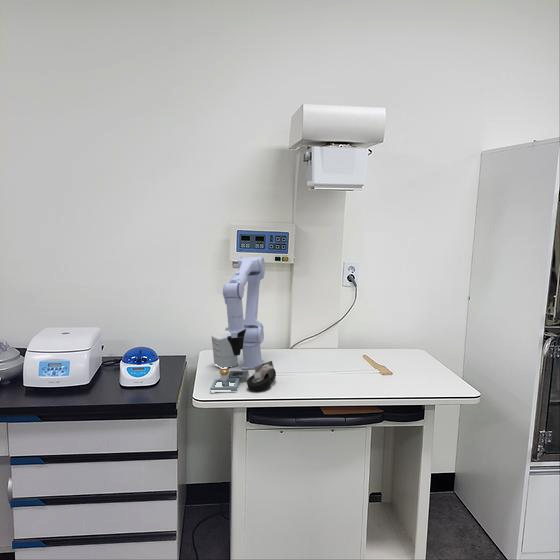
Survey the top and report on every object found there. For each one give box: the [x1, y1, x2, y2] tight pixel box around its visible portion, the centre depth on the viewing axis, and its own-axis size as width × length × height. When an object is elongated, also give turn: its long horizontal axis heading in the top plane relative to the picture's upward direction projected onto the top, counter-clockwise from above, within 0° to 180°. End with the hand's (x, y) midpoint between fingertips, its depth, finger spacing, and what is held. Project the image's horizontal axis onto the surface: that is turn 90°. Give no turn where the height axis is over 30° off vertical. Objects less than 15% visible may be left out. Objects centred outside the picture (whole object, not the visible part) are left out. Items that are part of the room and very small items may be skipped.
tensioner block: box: [228, 369, 250, 383], centre depth 184 cm, size 7×7×2 cm
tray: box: [209, 378, 241, 392], centre depth 176 cm, size 9×9×2 cm
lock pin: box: [219, 368, 230, 387], centre depth 176 cm, size 3×3×6 cm
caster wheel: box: [246, 360, 277, 393], centre depth 175 cm, size 7×11×10 cm
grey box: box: [211, 332, 239, 368], centre depth 200 cm, size 7×7×13 cm
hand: (238, 352), depth 182 cm, fingers open, 7 cm apart
